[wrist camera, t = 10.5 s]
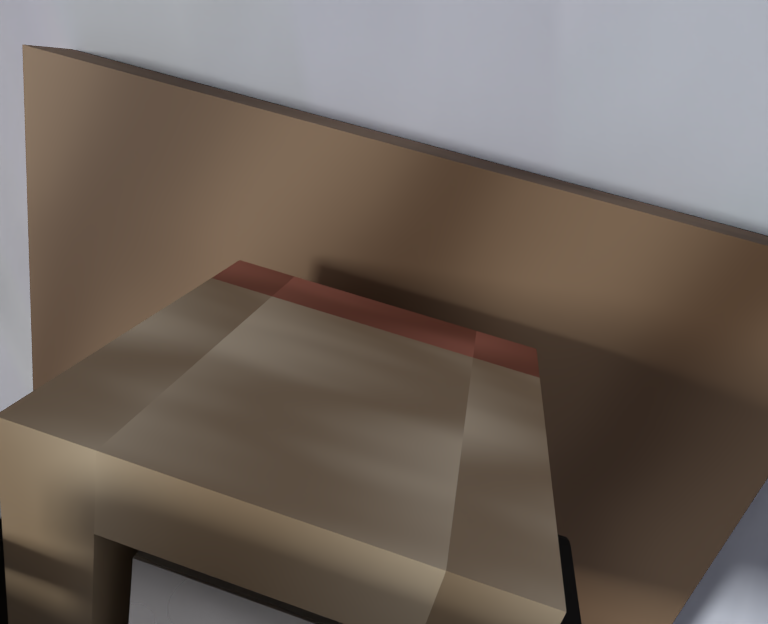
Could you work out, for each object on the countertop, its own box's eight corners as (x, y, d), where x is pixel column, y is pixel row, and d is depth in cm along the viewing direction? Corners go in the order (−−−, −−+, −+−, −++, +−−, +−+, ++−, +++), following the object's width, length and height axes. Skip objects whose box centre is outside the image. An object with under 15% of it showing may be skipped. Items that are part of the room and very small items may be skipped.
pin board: (850, 258, 12) (896, 280, 10) (621, 635, 16) (631, 684, 15) (72, 49, 13) (22, 44, 12) (71, 446, 18) (36, 475, 17)
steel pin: (438, 367, 13) (371, 643, 6) (406, 468, 14) (323, 786, 8) (315, 329, 13) (133, 558, 7) (294, 432, 14) (122, 709, 8)
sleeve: (536, 349, 11) (566, 612, 5) (448, 572, 13) (408, 907, 8) (239, 259, 11) (-5, 415, 6) (209, 490, 14) (16, 748, 8)
